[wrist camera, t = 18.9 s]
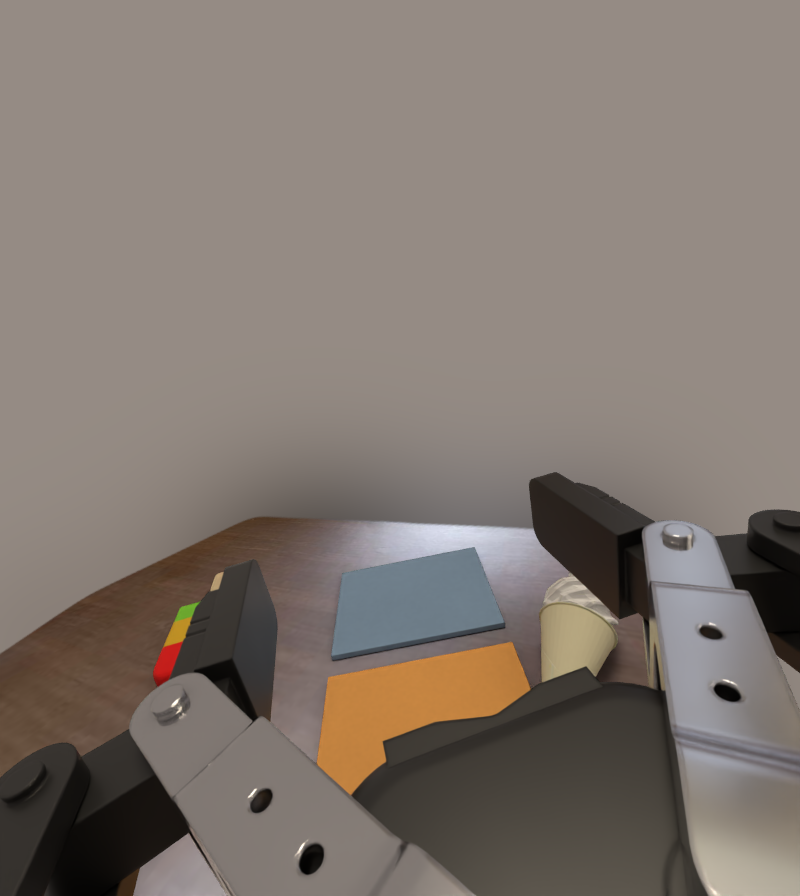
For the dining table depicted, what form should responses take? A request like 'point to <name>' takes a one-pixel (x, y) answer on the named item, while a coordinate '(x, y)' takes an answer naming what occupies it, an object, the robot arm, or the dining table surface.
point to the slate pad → (413, 603)
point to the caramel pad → (410, 704)
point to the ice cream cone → (574, 629)
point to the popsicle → (177, 639)
